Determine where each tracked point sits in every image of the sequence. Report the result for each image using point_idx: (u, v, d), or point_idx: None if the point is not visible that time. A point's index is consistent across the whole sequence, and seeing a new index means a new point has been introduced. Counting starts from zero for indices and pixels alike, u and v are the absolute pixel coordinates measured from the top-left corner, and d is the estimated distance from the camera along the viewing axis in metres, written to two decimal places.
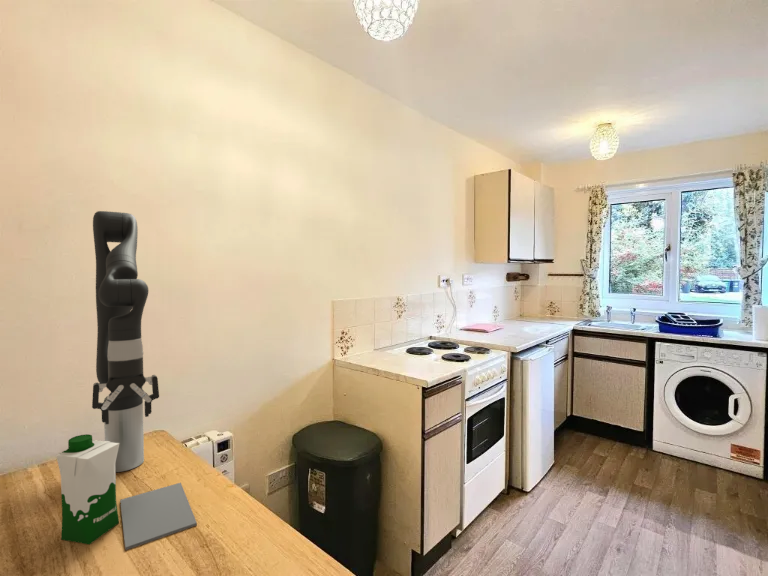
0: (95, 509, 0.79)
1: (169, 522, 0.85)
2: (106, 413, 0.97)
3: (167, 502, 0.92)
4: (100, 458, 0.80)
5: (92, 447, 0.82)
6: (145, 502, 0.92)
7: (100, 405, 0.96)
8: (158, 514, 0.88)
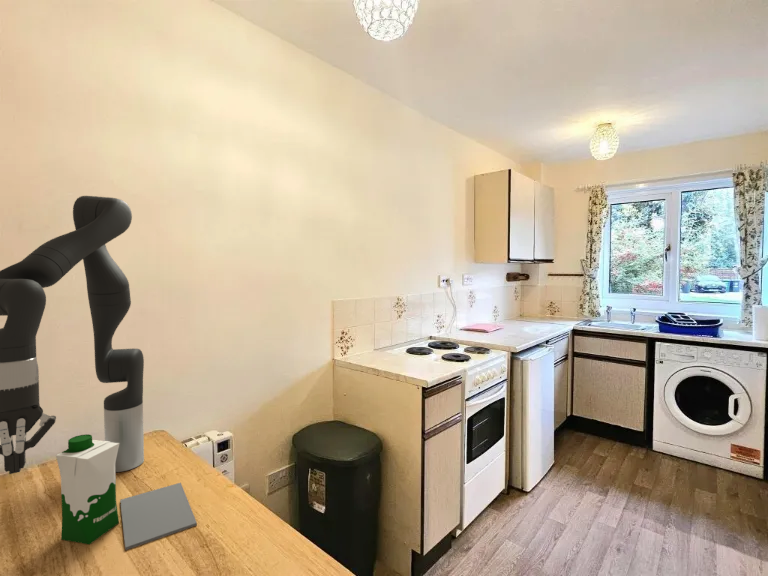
0: (95, 509, 0.79)
1: (169, 522, 0.85)
2: (10, 459, 0.74)
3: (167, 502, 0.92)
4: (100, 458, 0.80)
5: (92, 447, 0.82)
6: (145, 502, 0.92)
7: (2, 449, 0.74)
8: (158, 514, 0.88)
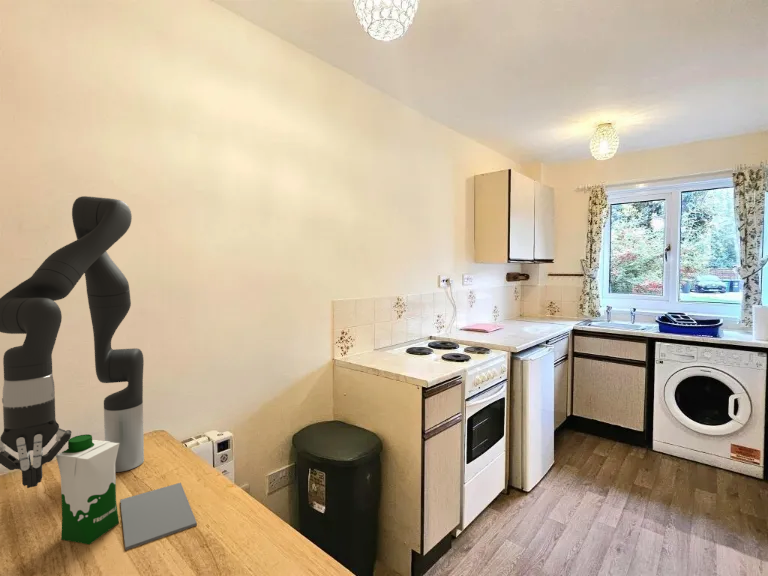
0: (95, 509, 0.79)
1: (169, 522, 0.85)
2: (28, 474, 0.76)
3: (167, 502, 0.92)
4: (100, 458, 0.80)
5: (92, 447, 0.82)
6: (145, 502, 0.92)
7: (20, 464, 0.75)
8: (158, 514, 0.88)
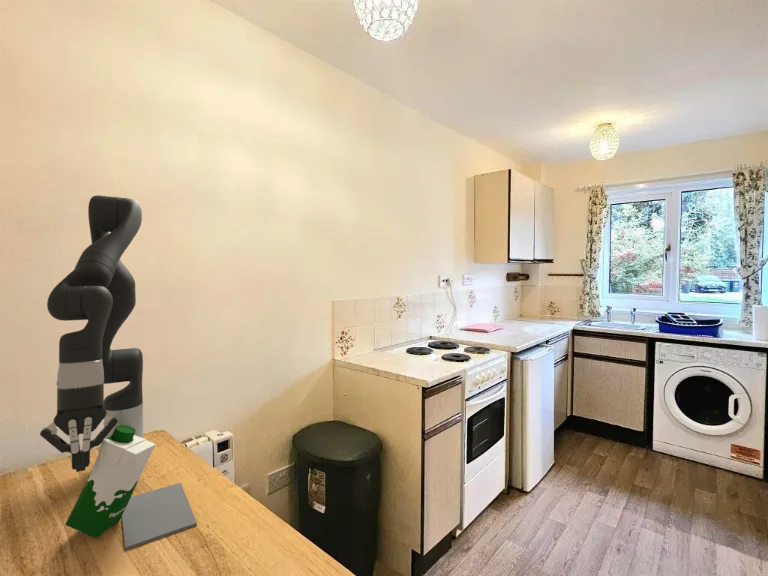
0: (116, 504, 0.81)
1: (169, 522, 0.85)
2: (77, 457, 0.78)
3: (167, 502, 0.92)
4: (141, 455, 0.83)
5: (133, 441, 0.85)
6: (145, 502, 0.92)
7: (70, 447, 0.77)
8: (158, 514, 0.88)
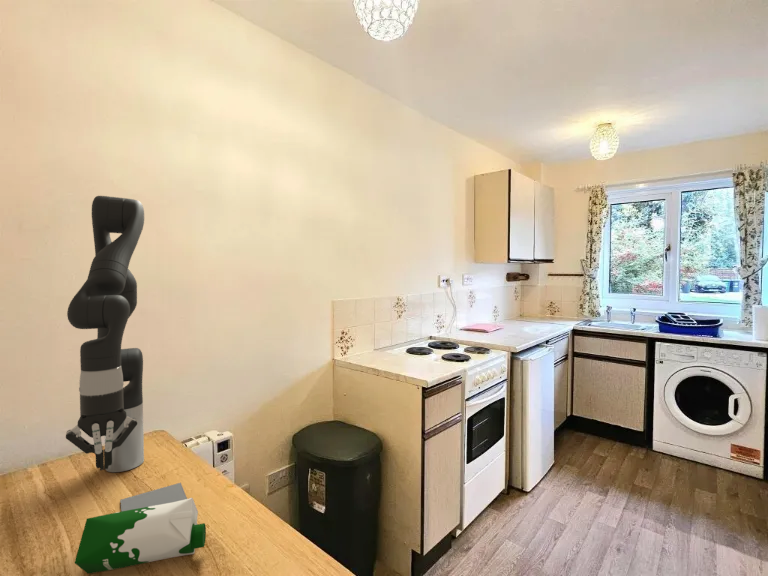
0: None
1: None
2: (101, 457, 0.82)
3: (167, 502, 0.92)
4: None
5: (194, 521, 0.77)
6: (145, 502, 0.92)
7: (94, 448, 0.82)
8: None
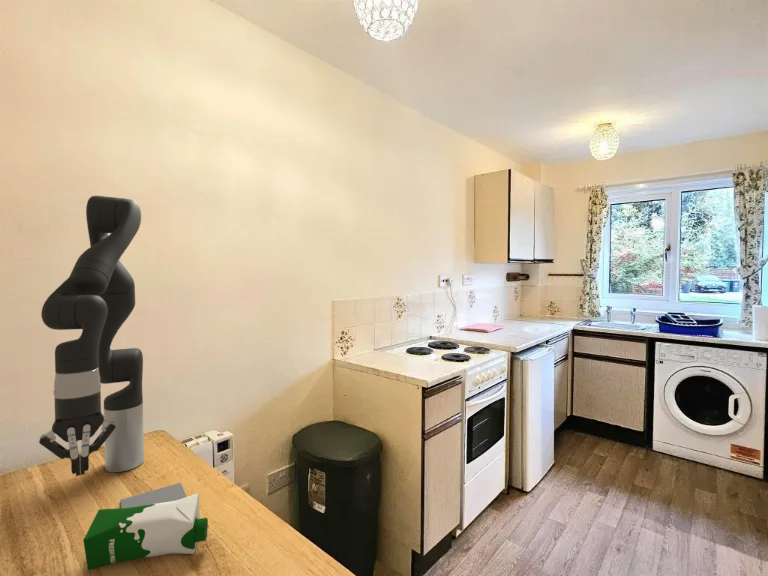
0: None
1: None
2: (77, 463, 0.80)
3: None
4: None
5: (197, 518, 0.80)
6: (145, 502, 0.92)
7: (69, 453, 0.79)
8: None
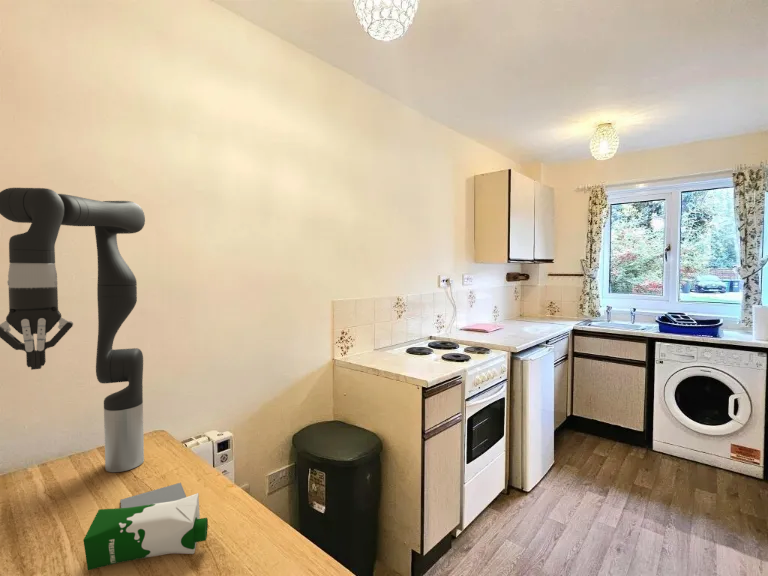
0: None
1: None
2: (32, 356, 0.80)
3: None
4: None
5: (197, 518, 0.80)
6: (145, 502, 0.92)
7: (24, 346, 0.79)
8: None
